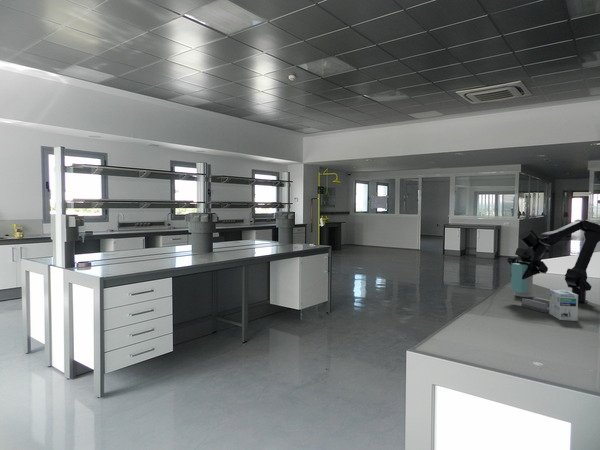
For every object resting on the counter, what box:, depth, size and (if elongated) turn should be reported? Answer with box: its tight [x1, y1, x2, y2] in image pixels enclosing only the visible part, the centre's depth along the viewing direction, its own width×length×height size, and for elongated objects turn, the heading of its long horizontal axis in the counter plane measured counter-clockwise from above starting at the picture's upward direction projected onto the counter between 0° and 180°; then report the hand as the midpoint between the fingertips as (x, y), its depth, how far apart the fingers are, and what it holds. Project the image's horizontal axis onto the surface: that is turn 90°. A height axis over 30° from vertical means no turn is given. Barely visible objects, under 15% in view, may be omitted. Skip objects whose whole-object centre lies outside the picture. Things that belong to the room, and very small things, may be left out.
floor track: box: [521, 296, 550, 314], centre depth 177 cm, size 12×9×4 cm
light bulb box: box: [548, 288, 579, 322], centre depth 162 cm, size 11×7×11 cm, turn 168°
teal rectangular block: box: [510, 263, 527, 293], centre depth 186 cm, size 6×3×13 cm, turn 18°
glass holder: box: [513, 267, 534, 298], centre depth 208 cm, size 9×14×15 cm, turn 158°
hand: (516, 277), depth 186 cm, fingers closed on teal rectangular block, 6 cm apart
